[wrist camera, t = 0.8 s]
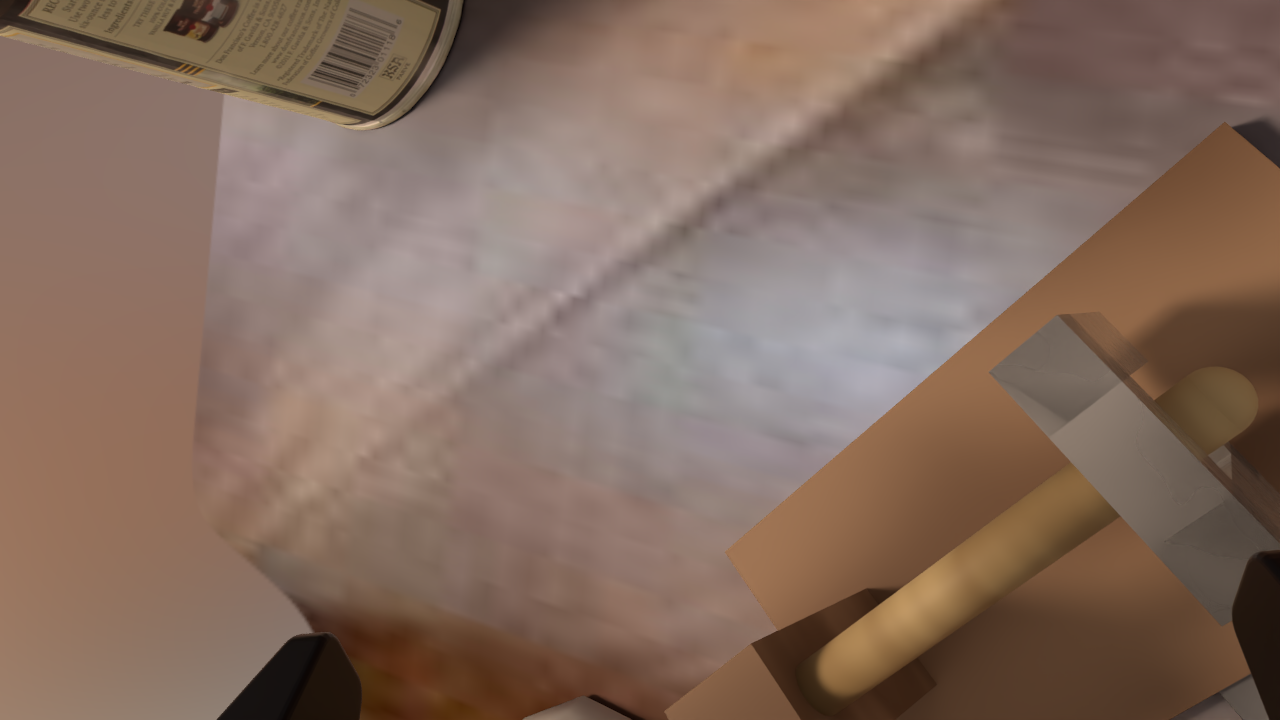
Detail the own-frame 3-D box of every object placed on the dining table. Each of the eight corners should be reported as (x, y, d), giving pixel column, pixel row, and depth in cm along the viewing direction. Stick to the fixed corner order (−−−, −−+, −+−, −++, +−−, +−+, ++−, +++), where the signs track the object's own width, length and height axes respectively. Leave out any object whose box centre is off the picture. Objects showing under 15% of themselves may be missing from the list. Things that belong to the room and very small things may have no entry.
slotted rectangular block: (1285, 499, 18) (1309, 574, 13) (1222, 540, 19) (1221, 626, 14) (1099, 311, 20) (1057, 314, 15) (1046, 354, 21) (988, 372, 15)
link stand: (1615, 458, 17) (1768, 497, 11) (937, 846, 24) (825, 989, 18) (1226, 128, 20) (1197, 33, 15) (735, 548, 27) (589, 592, 22)
